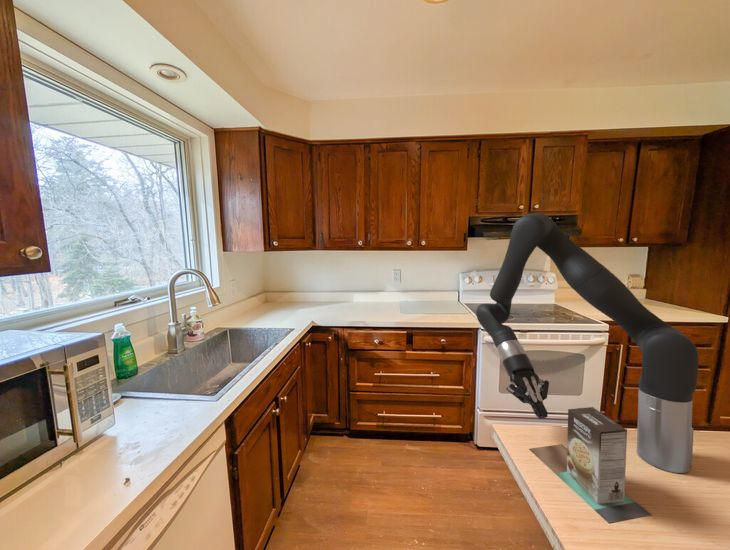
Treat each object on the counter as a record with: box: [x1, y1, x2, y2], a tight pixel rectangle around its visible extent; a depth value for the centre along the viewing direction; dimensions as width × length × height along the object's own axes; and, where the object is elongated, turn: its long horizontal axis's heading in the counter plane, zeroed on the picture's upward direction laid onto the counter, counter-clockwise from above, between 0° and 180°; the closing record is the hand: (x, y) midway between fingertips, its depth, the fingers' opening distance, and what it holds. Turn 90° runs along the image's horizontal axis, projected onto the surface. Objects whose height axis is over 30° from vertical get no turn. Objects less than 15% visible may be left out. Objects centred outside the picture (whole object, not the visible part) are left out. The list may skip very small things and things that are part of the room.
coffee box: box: [566, 406, 628, 504], centre depth 64 cm, size 9×6×16 cm
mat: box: [528, 443, 653, 524], centre depth 68 cm, size 10×22×1 cm, turn 9°
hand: (543, 417), depth 79 cm, fingers closed
